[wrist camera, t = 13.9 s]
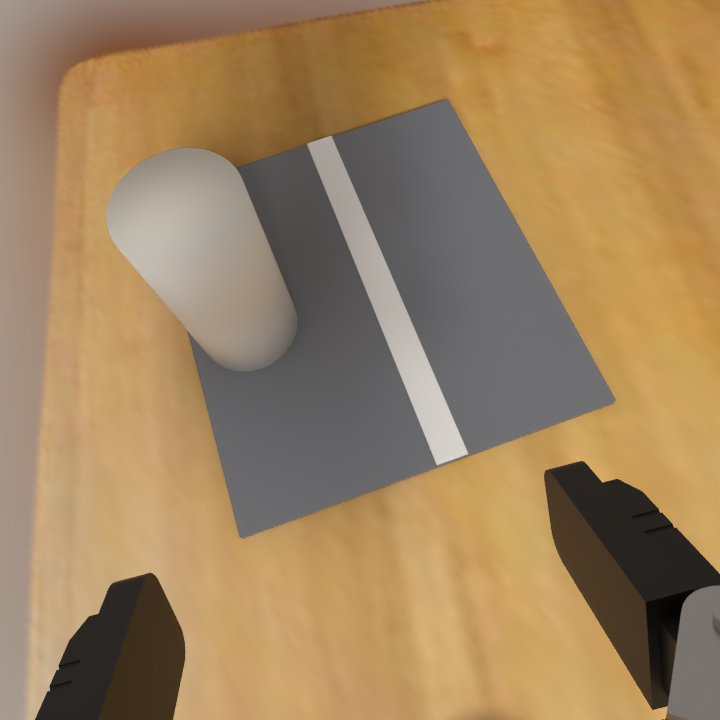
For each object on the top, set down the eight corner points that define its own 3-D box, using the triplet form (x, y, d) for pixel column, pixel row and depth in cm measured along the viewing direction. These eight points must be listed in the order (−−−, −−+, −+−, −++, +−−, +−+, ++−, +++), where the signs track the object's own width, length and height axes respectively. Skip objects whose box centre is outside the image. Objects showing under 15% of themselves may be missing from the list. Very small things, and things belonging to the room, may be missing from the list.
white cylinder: (279, 268, 31) (223, 129, 22) (311, 349, 29) (263, 234, 20) (189, 302, 31) (93, 176, 22) (215, 386, 29) (122, 287, 20)
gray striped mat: (447, 105, 36) (448, 97, 35) (612, 403, 28) (616, 399, 27) (156, 200, 35) (152, 193, 34) (242, 538, 27) (238, 536, 26)
